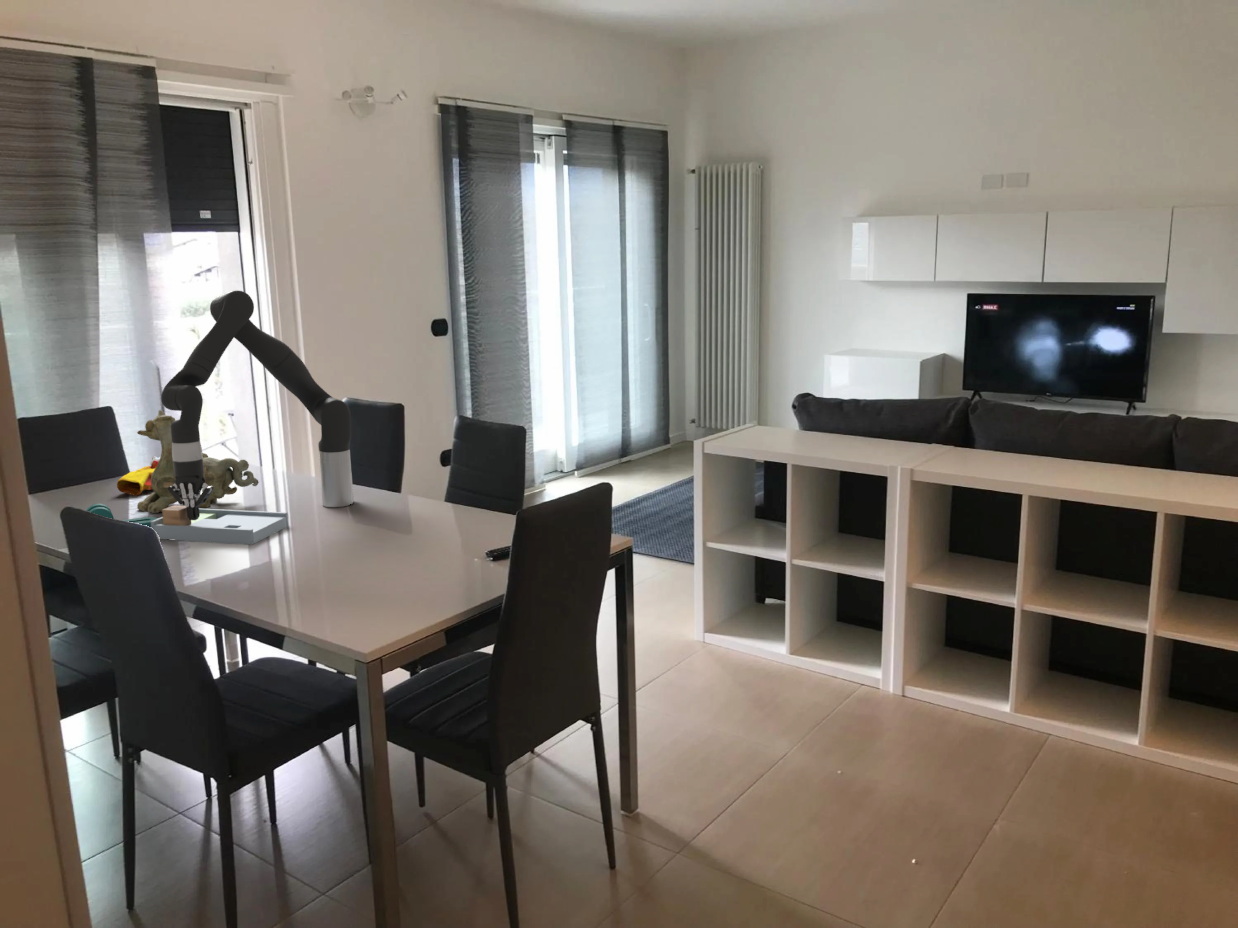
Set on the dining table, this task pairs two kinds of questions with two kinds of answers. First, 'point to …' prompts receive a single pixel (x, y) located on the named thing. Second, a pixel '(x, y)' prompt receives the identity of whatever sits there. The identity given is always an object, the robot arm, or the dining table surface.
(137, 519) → the bracket
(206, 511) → the tray
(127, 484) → the toy
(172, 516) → the block
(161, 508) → the sculpture
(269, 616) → the dining table surface
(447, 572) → the dining table surface
